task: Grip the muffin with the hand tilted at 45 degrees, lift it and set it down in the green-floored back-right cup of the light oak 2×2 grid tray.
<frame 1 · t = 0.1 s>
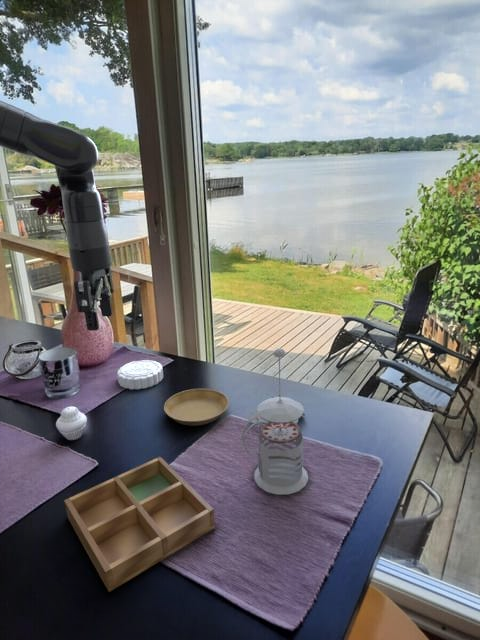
hand: (100, 322, 91), 24 cm above the table, tool pointing down, fingers open, 8 cm apart
grid: (139, 522, 71), on the table
plant saucer: (197, 414, 101), on the table
french press: (276, 477, 80), on the table
decorative butterfly: (280, 418, 98), on the table
mooncake: (141, 380, 119), on the table
muffin: (74, 436, 95), on the table
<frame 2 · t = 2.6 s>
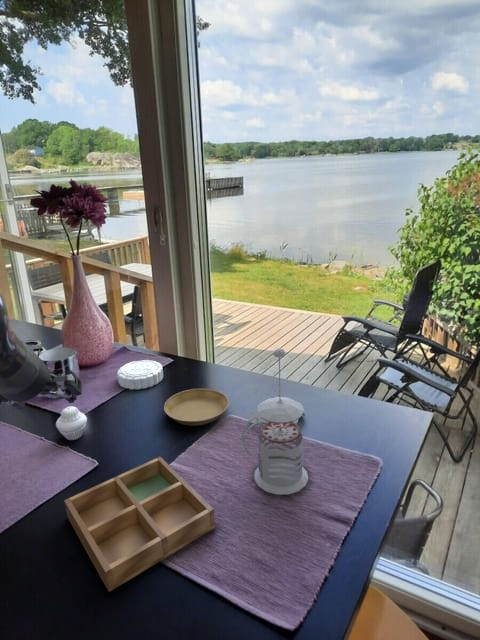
hand: (47, 400, 79), 15 cm above the table, tool tilted 45°, fingers open, 8 cm apart
nothing on the table moved.
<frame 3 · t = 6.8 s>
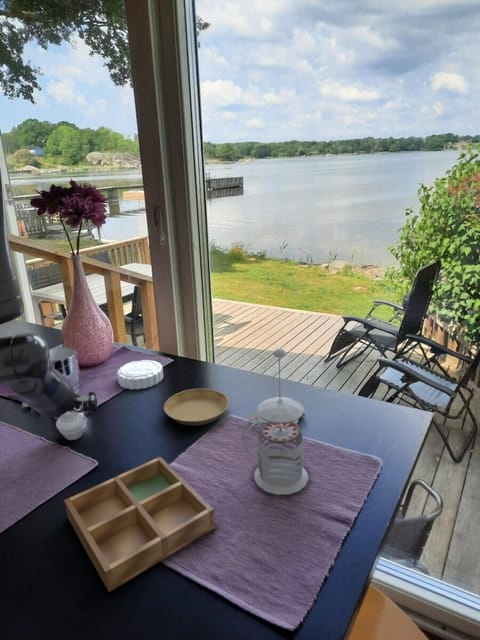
hand: (72, 414, 95), 4 cm above the table, tool tilted 45°, fingers closed on muffin, 6 cm apart
muffin: (74, 436, 95), on the table, touching gripper
everything else where it was.
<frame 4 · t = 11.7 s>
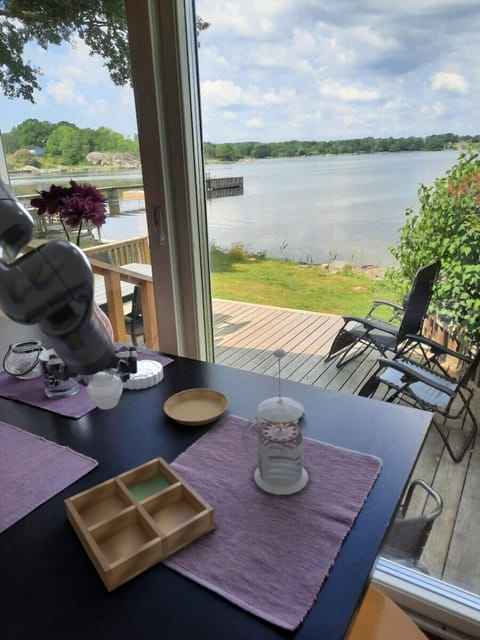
hand: (105, 379, 79), 18 cm above the table, tool tilted 45°, fingers closed on muffin, 6 cm apart
muffin: (108, 406, 79), point 14 cm above the table, touching gripper
everything else where it was.
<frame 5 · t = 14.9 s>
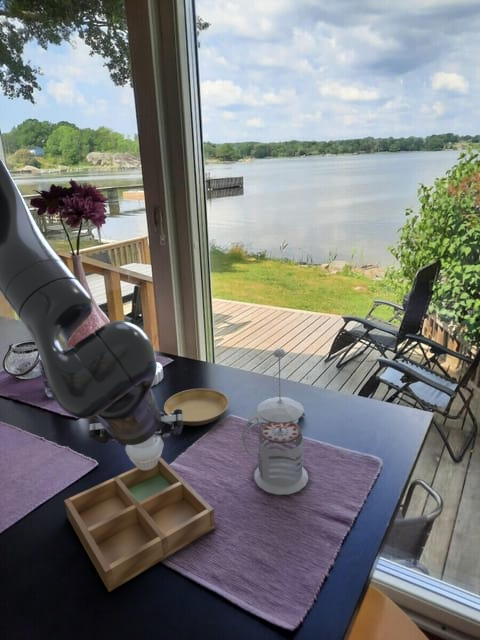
hand: (144, 436, 74), 11 cm above the table, tool tilted 45°, fingers closed on muffin, 6 cm apart
muffin: (147, 465, 74), point 7 cm above the table, touching gripper
everything else where it was.
when the fingers open (5 cm above the table, at t = 17.1 s): muffin stays where it is, resting on grid.
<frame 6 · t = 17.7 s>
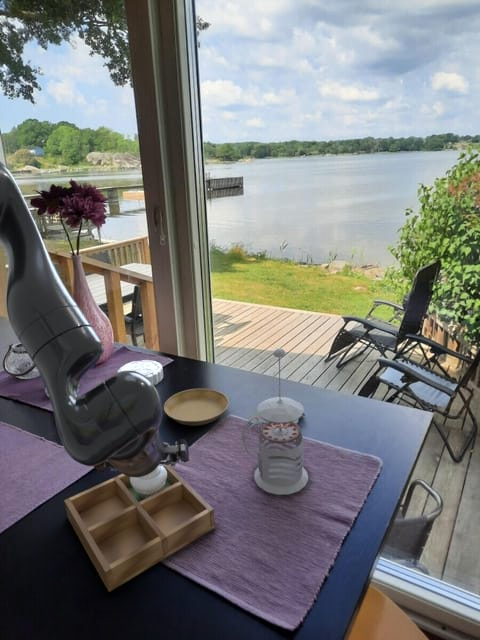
hand: (147, 462, 75), 6 cm above the table, tool tilted 45°, fingers open, 8 cm apart
muffin: (150, 494, 76), point 1 cm above the table, touching grid
everything else where it was.
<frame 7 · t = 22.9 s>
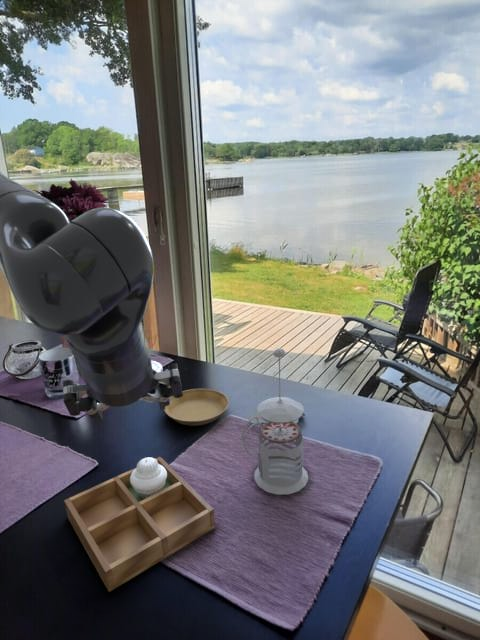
hand: (131, 408, 62), 22 cm above the table, tool tilted 40°, fingers open, 8 cm apart
nothing on the table moved.
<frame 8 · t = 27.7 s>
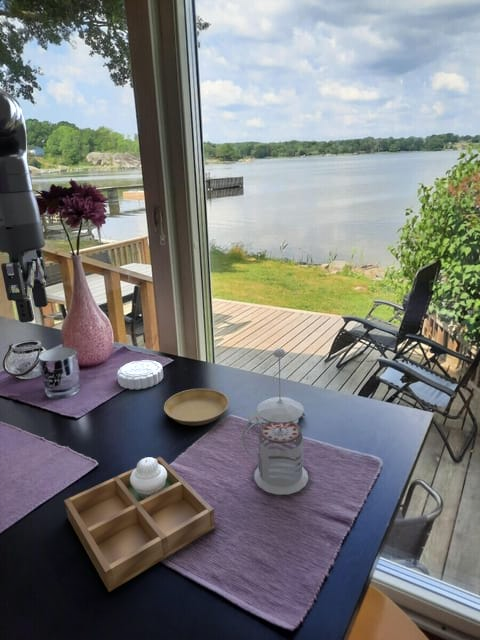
hand: (34, 313, 78), 30 cm above the table, tool pointing down, fingers open, 8 cm apart
nothing on the table moved.
at the end: muffin 0.2 cm from the target spot in the grid, point 0.6 cm above the grid's base; muffin tilted 0°; the gripper is holding nothing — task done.
